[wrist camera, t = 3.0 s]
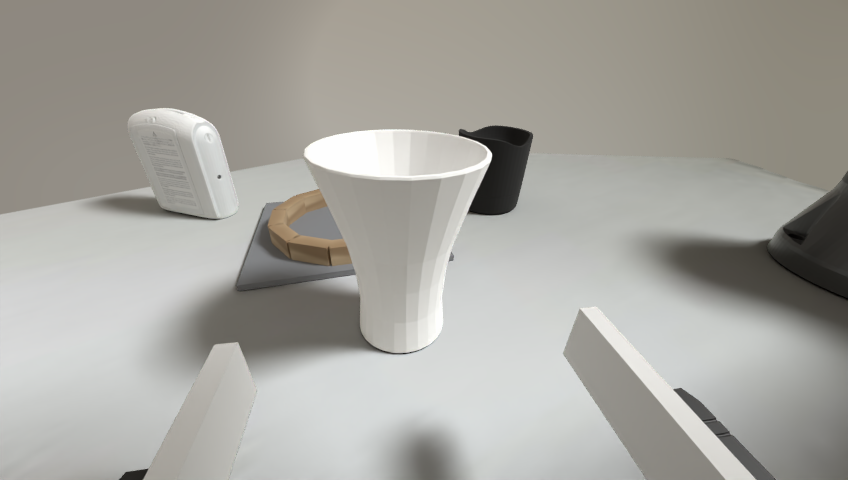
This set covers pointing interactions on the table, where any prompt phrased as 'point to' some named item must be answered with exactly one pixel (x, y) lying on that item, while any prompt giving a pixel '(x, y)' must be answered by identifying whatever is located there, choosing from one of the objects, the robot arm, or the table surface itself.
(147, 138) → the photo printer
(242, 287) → the collar mat
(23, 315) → the table surface
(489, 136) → the pen holder
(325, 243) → the collar ring
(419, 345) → the cup
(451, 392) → the table surface
